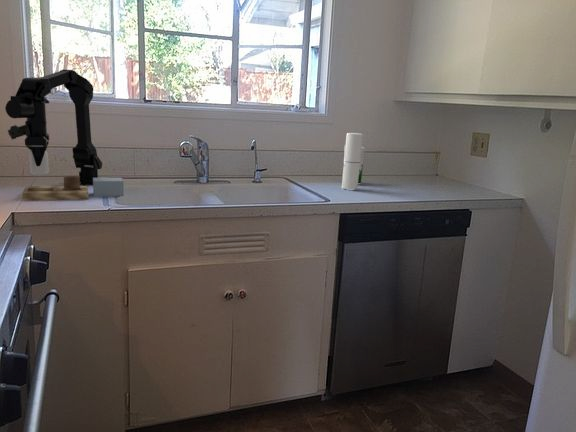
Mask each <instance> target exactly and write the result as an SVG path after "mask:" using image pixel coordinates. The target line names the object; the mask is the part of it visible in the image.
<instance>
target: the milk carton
mask: <svg viewBox="0 0 576 432" xmlns="http://www.w3.org/2000/svg"><path fill="white" fill-rule="evenodd" d="M343 146H344V150H343V151H344V152H343V153H344V154H343V155H344V156H345V145H343ZM365 151H366V147H364V146H362V148H361V158H360V168H359V178H358V183H362V177H363V168H364V167H363V166H364V158H365V157H364V156H365ZM344 156H343V157H344ZM343 167H344V163H343V165H342V168H343ZM341 178H343V174H342V176H341Z"/></svg>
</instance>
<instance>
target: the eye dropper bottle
mask: <svg viewBox="0 0 576 432" xmlns="http://www.w3.org/2000/svg"><path fill="white" fill-rule="evenodd" d="M28 156H29V157H28V158H29V159H28V160H29V161H28V162H29V173H30V175H31V176H45V175H49V173H50V169H49V168H50V167H49V166H50V165H49V164H50V163H49V153H48V152H47V150H46V151H45V153H44V156H43V159H42V162H41V165H40V166H36V163H35V160H34V157H33V153H32V151H31V150H30V151H29V154H28Z"/></svg>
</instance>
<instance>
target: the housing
mask: <svg viewBox="0 0 576 432" xmlns="http://www.w3.org/2000/svg"><path fill="white" fill-rule="evenodd" d="M92 187H93V188H92V189H93V190H92V193H93V197H94V198H95V197H99V198H102V197H107V198H108V197H124V196H125V193H124V188H125V187H124V179H123V178H122V177H98V178H93V185H92Z"/></svg>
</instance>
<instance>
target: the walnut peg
mask: <svg viewBox="0 0 576 432" xmlns="http://www.w3.org/2000/svg"><path fill="white" fill-rule="evenodd" d="M63 186H64V191H69V190H80V186H81V183H80V176H79V175H63Z"/></svg>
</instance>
